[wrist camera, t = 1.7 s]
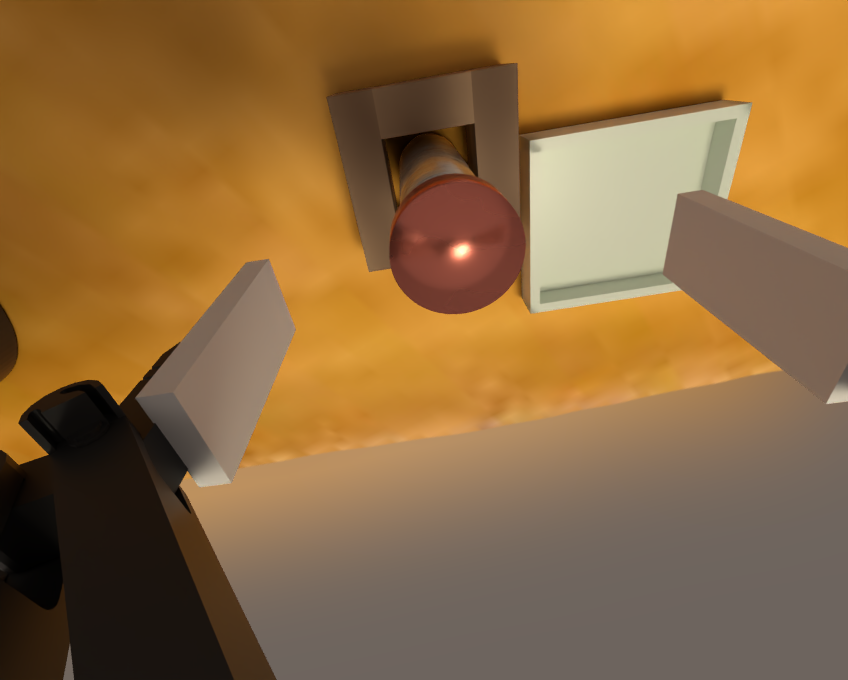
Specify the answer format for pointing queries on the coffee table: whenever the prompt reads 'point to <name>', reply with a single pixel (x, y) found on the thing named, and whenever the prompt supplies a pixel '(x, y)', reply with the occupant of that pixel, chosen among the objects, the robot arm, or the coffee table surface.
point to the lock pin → (451, 231)
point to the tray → (617, 199)
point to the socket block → (420, 112)
